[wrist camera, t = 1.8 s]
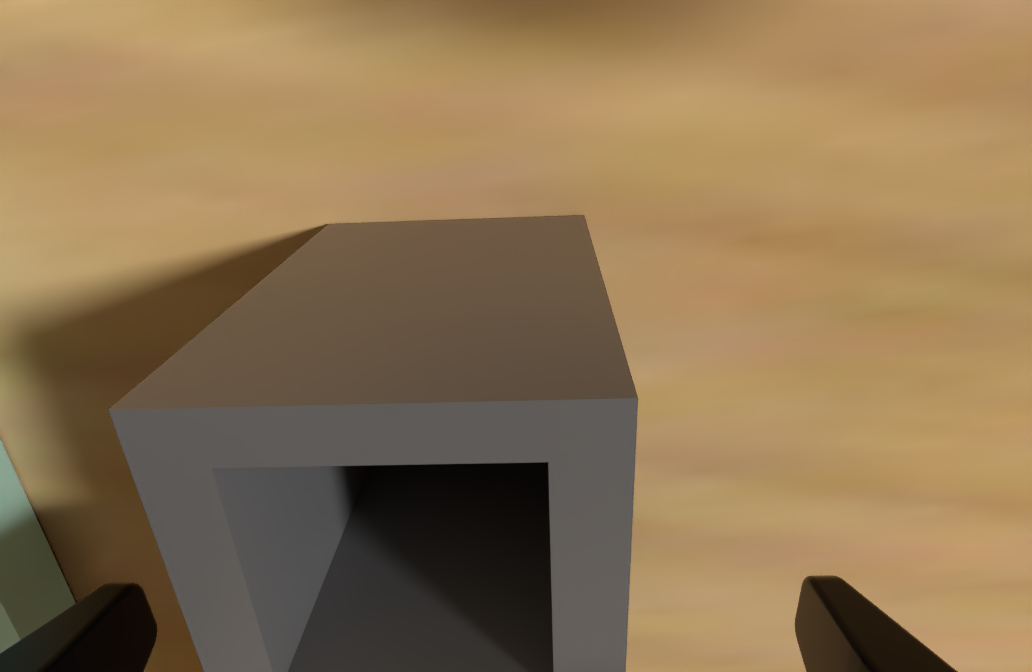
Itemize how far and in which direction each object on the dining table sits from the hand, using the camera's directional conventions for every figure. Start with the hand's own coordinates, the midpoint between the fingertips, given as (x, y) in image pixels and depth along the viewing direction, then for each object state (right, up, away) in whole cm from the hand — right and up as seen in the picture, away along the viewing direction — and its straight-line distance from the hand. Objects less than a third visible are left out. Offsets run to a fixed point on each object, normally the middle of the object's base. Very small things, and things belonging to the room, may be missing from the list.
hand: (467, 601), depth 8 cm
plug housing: (0, +1, +2) cm, 2 cm away
